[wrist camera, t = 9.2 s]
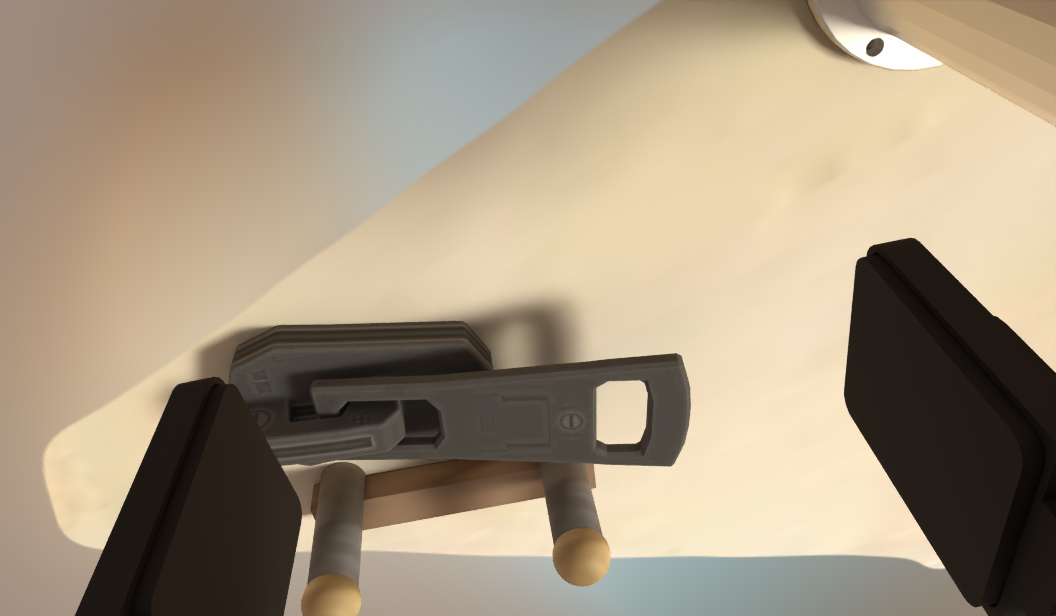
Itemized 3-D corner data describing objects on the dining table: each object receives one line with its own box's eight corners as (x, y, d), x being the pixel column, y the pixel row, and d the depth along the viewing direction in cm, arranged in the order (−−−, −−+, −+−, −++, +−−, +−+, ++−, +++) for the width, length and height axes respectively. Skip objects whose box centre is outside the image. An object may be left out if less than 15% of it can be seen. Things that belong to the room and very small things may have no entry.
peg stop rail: (584, 416, 48) (621, 555, 40) (590, 464, 51) (625, 605, 42) (305, 466, 48) (282, 618, 39) (326, 512, 50) (308, 664, 42)
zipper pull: (686, 475, 43) (238, 534, 41) (656, 396, 48) (258, 446, 47) (698, 353, 38) (186, 415, 36) (663, 280, 43) (216, 331, 41)
